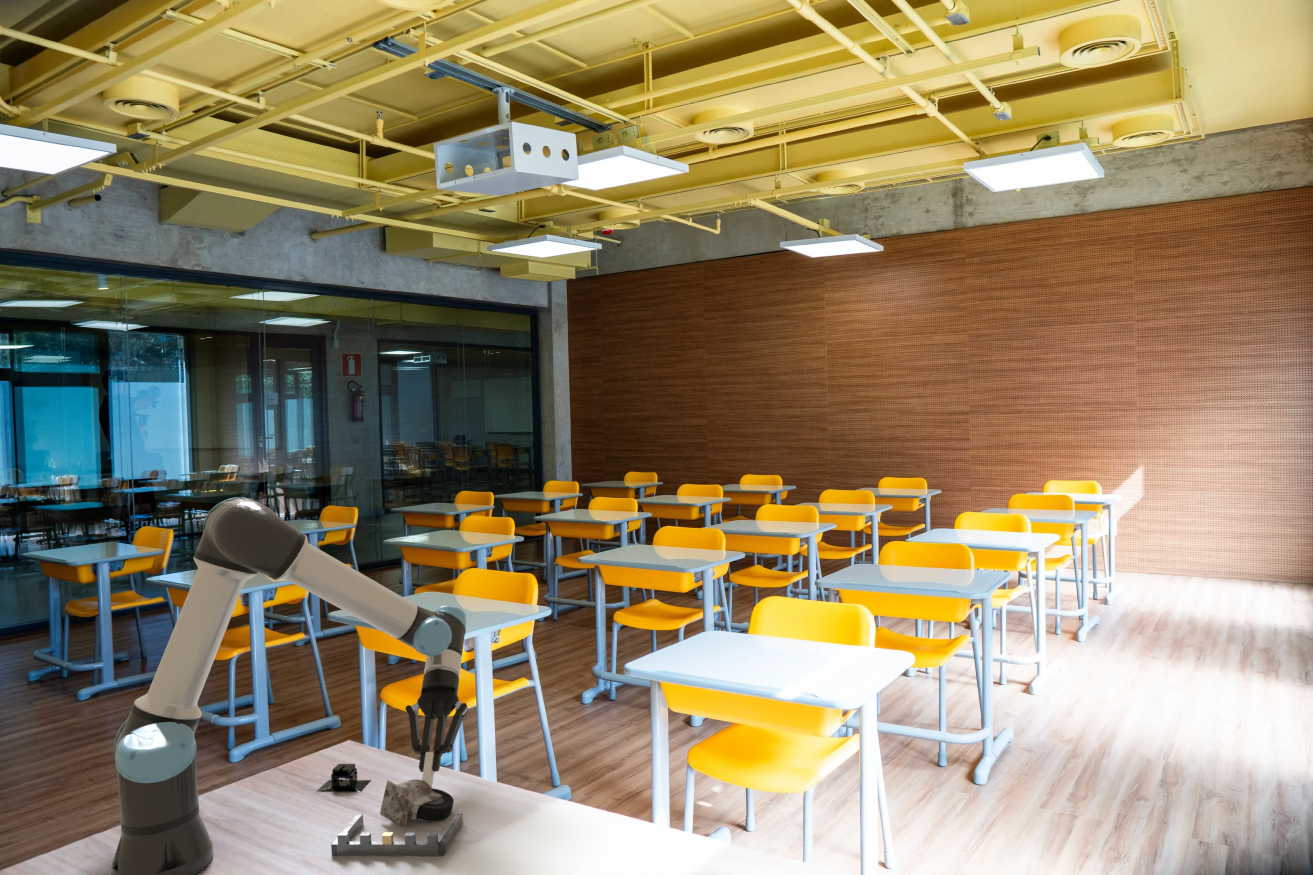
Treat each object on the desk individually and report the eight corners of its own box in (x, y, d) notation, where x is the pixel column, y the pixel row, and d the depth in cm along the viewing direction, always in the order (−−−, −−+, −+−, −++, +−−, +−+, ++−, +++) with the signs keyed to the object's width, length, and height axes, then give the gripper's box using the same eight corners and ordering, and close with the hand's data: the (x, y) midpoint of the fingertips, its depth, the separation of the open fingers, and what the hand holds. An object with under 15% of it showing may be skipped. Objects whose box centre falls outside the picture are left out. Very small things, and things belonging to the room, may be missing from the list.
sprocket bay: (331, 855, 148) (330, 835, 148) (358, 823, 159) (357, 805, 159) (443, 855, 147) (442, 835, 146) (462, 823, 158) (461, 804, 157)
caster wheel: (457, 823, 163) (420, 840, 154) (415, 800, 168) (377, 814, 159) (465, 789, 163) (428, 804, 154) (422, 767, 168) (385, 780, 159)
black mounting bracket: (307, 795, 173) (306, 773, 173) (324, 779, 180) (323, 758, 180) (366, 796, 172) (365, 773, 171) (381, 780, 179) (380, 758, 179)
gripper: (475, 682, 184) (463, 792, 168) (415, 684, 184) (397, 795, 168) (469, 665, 179) (456, 778, 163) (407, 668, 178) (388, 781, 163)
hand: (426, 787), depth 165 cm, fingers closed
